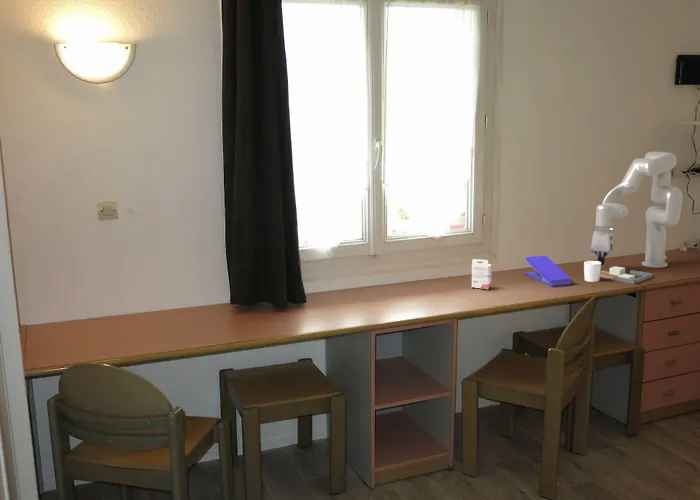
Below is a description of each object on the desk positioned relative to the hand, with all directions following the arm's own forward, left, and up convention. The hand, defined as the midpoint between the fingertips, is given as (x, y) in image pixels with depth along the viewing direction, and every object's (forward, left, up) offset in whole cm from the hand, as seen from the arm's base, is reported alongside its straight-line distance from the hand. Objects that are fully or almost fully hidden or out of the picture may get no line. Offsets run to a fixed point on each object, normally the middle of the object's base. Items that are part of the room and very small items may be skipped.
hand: (600, 264), depth 368 cm
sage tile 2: (-1, +9, -4) cm, 9 cm away
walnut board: (+3, +7, -5) cm, 9 cm away
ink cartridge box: (+62, -27, -5) cm, 68 cm away
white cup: (+18, +6, -5) cm, 20 cm away
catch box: (+3, +19, -5) cm, 20 cm away
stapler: (+28, -13, -5) cm, 31 cm away
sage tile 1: (+8, +18, -4) cm, 20 cm away
